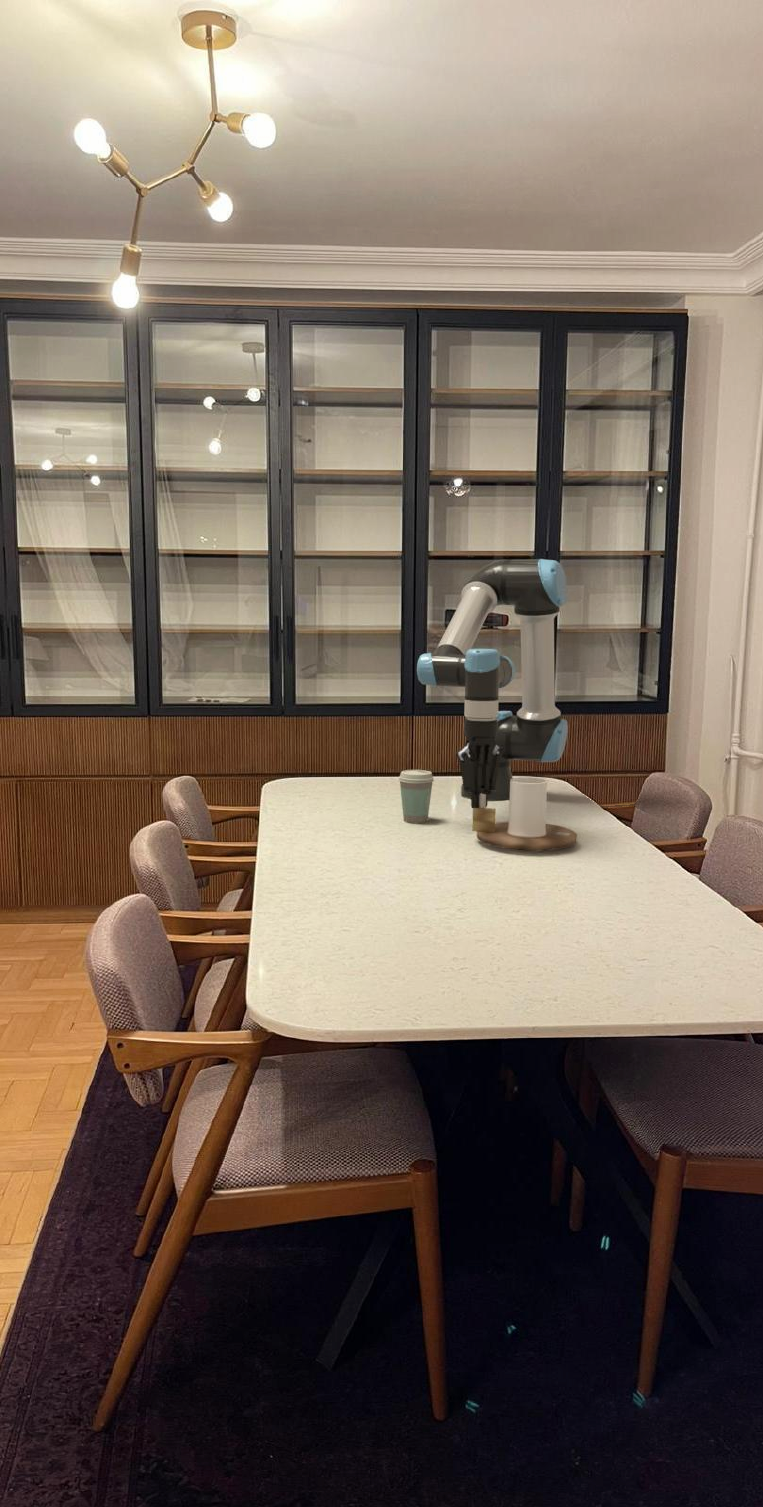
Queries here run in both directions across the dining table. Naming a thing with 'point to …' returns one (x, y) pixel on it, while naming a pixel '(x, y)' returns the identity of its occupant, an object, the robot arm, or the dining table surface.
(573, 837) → the turntable
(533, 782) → the mug
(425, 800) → the coffee cup
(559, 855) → the dining table surface
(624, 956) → the dining table surface
